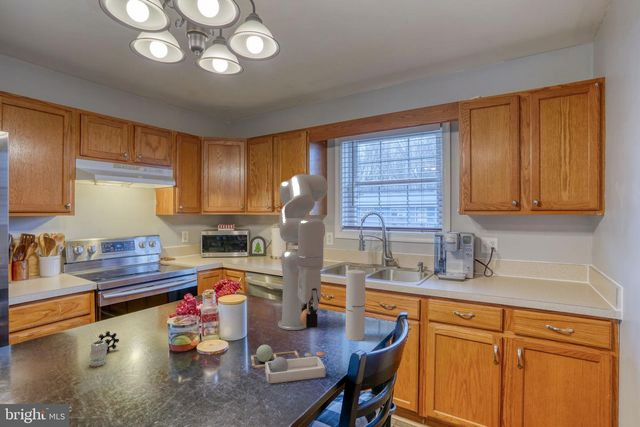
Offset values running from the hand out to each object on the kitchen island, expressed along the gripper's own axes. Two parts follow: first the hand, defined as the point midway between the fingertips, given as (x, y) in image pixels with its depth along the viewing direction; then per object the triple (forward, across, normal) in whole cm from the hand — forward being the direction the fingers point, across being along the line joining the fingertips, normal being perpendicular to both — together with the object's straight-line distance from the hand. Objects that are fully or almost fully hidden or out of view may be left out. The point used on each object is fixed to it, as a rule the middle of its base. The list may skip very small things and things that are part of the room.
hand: (309, 323), depth 97 cm
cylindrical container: (+15, -23, +24) cm, 37 cm away
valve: (+15, -25, -60) cm, 67 cm away
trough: (+15, 0, -4) cm, 15 cm away
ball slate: (+14, 0, -8) cm, 17 cm away
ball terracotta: (+1, 0, 0) cm, 1 cm away
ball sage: (+14, -10, -12) cm, 21 cm away
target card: (+15, -11, +5) cm, 19 cm away
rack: (+15, -10, -8) cm, 20 cm away
